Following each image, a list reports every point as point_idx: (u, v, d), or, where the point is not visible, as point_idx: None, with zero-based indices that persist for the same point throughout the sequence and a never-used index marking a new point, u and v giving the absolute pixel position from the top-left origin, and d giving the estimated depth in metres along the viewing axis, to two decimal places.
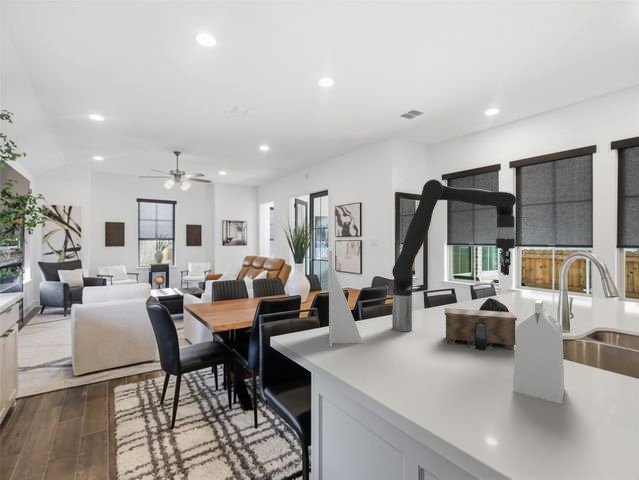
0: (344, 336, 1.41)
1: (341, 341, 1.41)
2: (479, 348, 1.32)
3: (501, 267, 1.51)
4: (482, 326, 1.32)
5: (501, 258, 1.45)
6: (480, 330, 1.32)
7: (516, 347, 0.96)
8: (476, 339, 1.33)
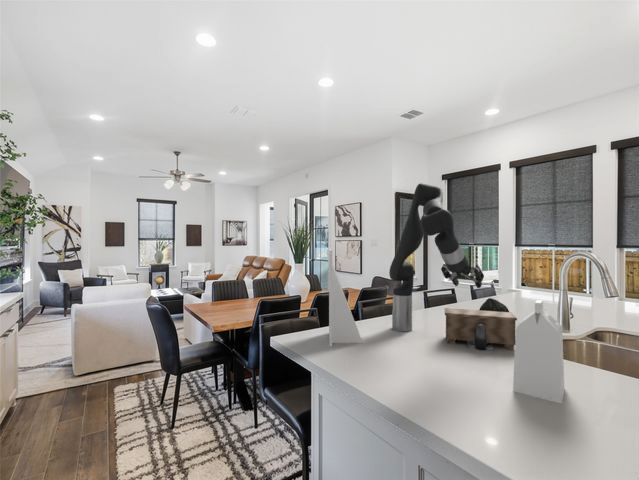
0: (344, 336, 1.41)
1: (341, 341, 1.41)
2: (479, 348, 1.32)
3: None
4: (482, 326, 1.32)
5: None
6: (480, 330, 1.32)
7: (516, 347, 0.96)
8: (476, 339, 1.33)
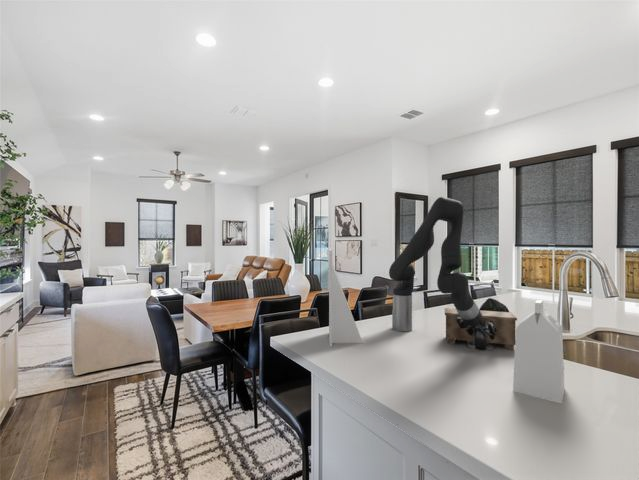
0: (344, 336, 1.41)
1: (341, 341, 1.41)
2: (479, 348, 1.32)
3: None
4: None
5: None
6: (480, 330, 1.32)
7: (516, 347, 0.96)
8: (476, 339, 1.33)
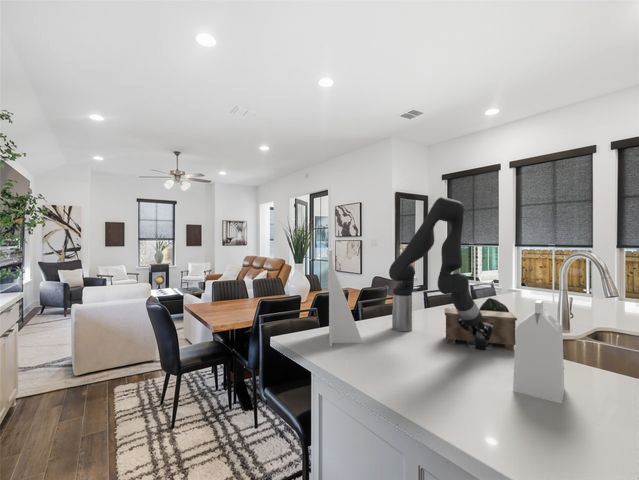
0: (344, 336, 1.41)
1: (341, 341, 1.41)
2: (479, 348, 1.32)
3: None
4: None
5: None
6: None
7: (516, 347, 0.96)
8: (476, 339, 1.33)
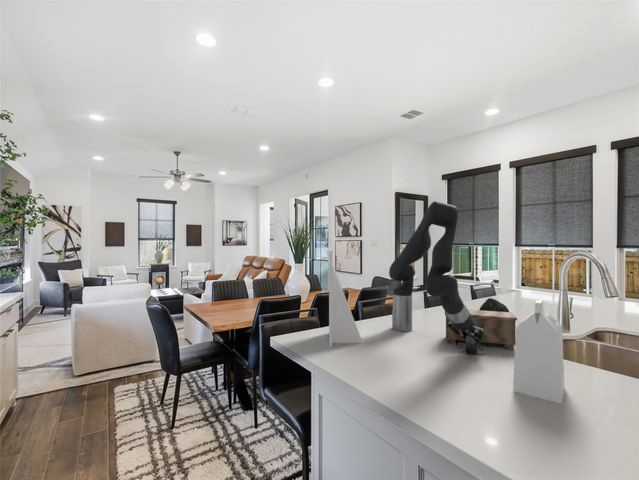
0: (344, 336, 1.41)
1: (341, 341, 1.41)
2: (469, 352, 1.27)
3: None
4: None
5: None
6: None
7: (516, 347, 0.96)
8: (466, 343, 1.28)
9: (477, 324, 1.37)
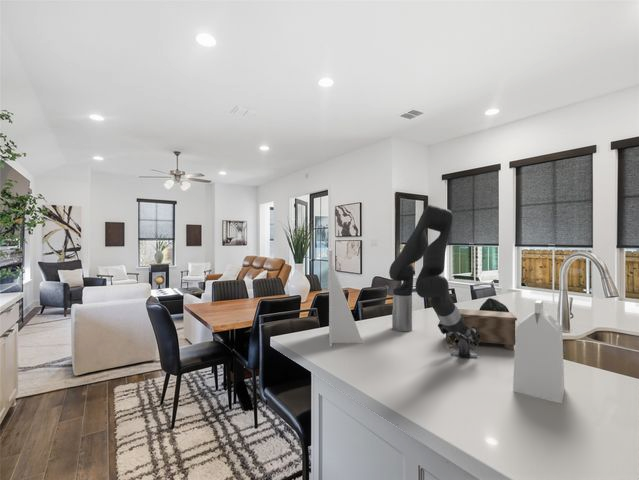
0: (344, 336, 1.41)
1: (341, 341, 1.41)
2: (462, 356, 1.23)
3: None
4: None
5: None
6: None
7: (516, 347, 0.96)
8: (459, 346, 1.24)
9: (477, 324, 1.37)
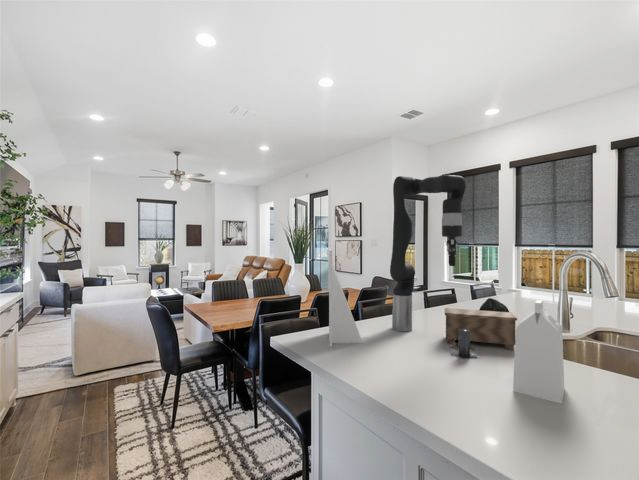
0: (344, 336, 1.41)
1: (341, 341, 1.41)
2: (462, 356, 1.23)
3: None
4: (465, 332, 1.23)
5: (447, 247, 1.30)
6: (463, 336, 1.23)
7: (516, 347, 0.96)
8: (459, 346, 1.24)
9: (477, 324, 1.37)
